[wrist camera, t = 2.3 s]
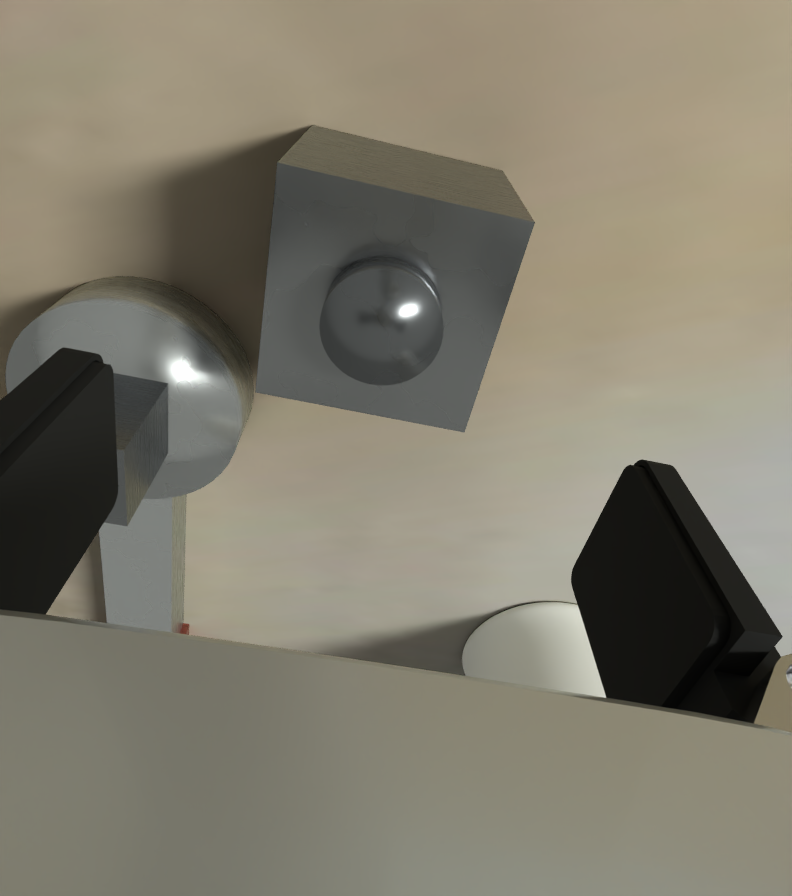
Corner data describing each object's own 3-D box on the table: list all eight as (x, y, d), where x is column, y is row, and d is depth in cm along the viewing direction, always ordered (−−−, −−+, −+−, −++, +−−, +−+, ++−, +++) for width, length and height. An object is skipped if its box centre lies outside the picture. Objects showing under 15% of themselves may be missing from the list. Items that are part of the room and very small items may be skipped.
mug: (704, 654, 33) (832, 927, 23) (601, 731, 37) (670, 988, 27) (522, 578, 30) (578, 856, 20) (432, 671, 34) (442, 937, 24)
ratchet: (28, 254, 21) (-101, 333, 16) (262, 302, 22) (214, 393, 16) (82, 665, 34) (21, 784, 29) (226, 685, 35) (193, 805, 30)
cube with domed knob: (312, 124, 19) (268, 170, 13) (502, 170, 19) (542, 234, 13) (290, 309, 22) (247, 411, 16) (452, 342, 23) (467, 452, 17)
